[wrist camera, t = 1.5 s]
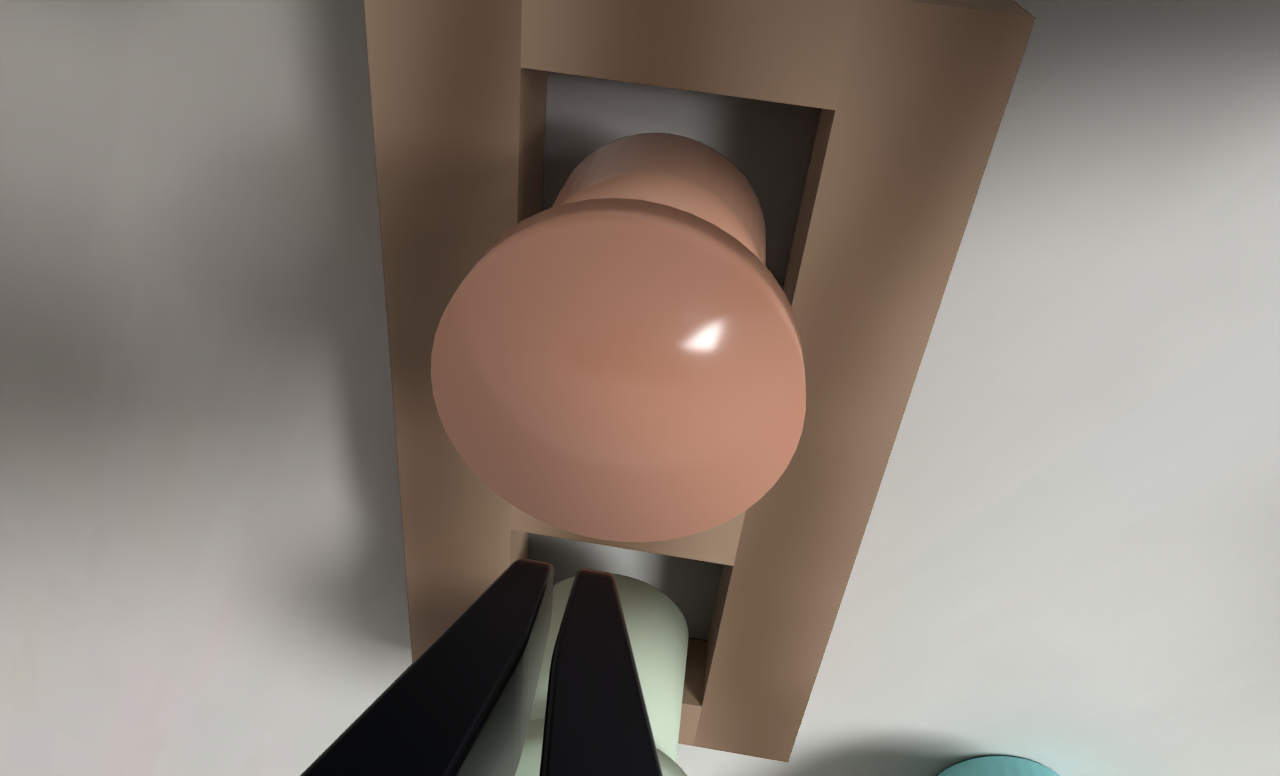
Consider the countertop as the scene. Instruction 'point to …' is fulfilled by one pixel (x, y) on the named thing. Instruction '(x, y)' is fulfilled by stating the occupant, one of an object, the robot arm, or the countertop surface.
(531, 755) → the sage plunger
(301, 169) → the countertop surface
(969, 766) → the cupcake
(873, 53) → the panel
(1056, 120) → the countertop surface
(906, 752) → the countertop surface
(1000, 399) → the countertop surface
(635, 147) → the terracotta plunger
